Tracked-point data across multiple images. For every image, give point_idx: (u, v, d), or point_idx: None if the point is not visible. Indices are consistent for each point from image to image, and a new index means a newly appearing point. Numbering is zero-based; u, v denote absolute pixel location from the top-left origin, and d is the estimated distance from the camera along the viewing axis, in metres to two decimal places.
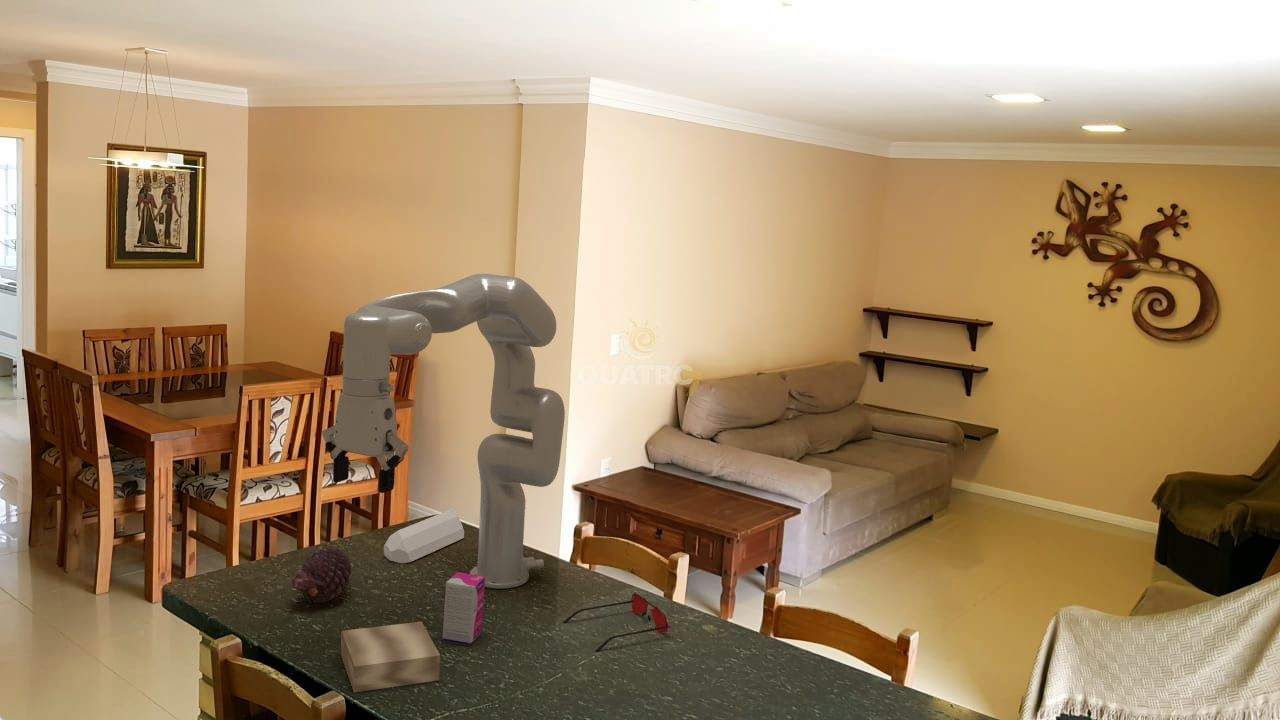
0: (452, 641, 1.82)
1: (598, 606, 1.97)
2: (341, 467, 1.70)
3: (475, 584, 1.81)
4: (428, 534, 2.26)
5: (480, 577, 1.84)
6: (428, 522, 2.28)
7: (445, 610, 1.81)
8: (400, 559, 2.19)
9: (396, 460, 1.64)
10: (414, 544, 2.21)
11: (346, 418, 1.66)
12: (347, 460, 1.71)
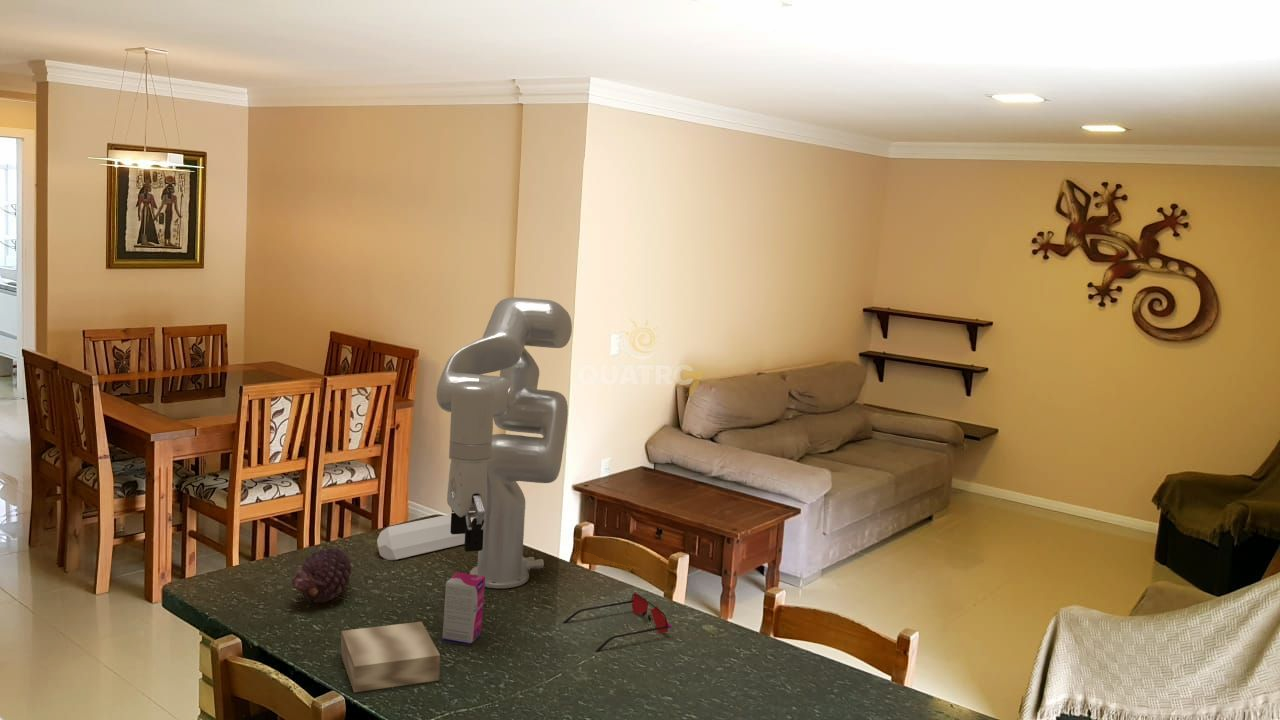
0: (452, 641, 1.82)
1: (598, 606, 1.97)
2: None
3: (475, 584, 1.81)
4: (423, 535, 2.25)
5: (480, 577, 1.84)
6: (427, 522, 2.28)
7: (445, 610, 1.81)
8: (387, 556, 2.20)
9: None
10: (403, 542, 2.21)
11: None
12: None
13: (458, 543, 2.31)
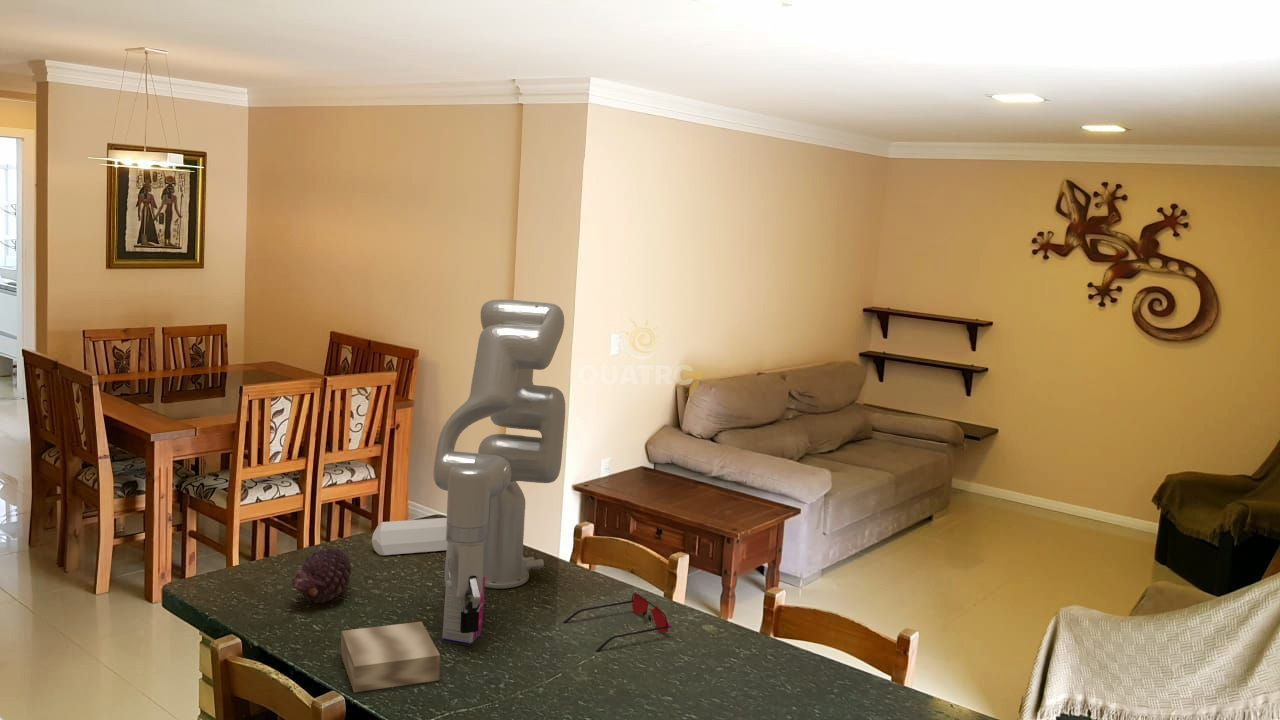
0: (452, 641, 1.82)
1: (598, 606, 1.97)
2: None
3: None
4: (418, 534, 2.25)
5: None
6: (425, 522, 2.27)
7: (445, 610, 1.81)
8: (378, 550, 2.23)
9: None
10: (394, 539, 2.23)
11: None
12: None
13: None
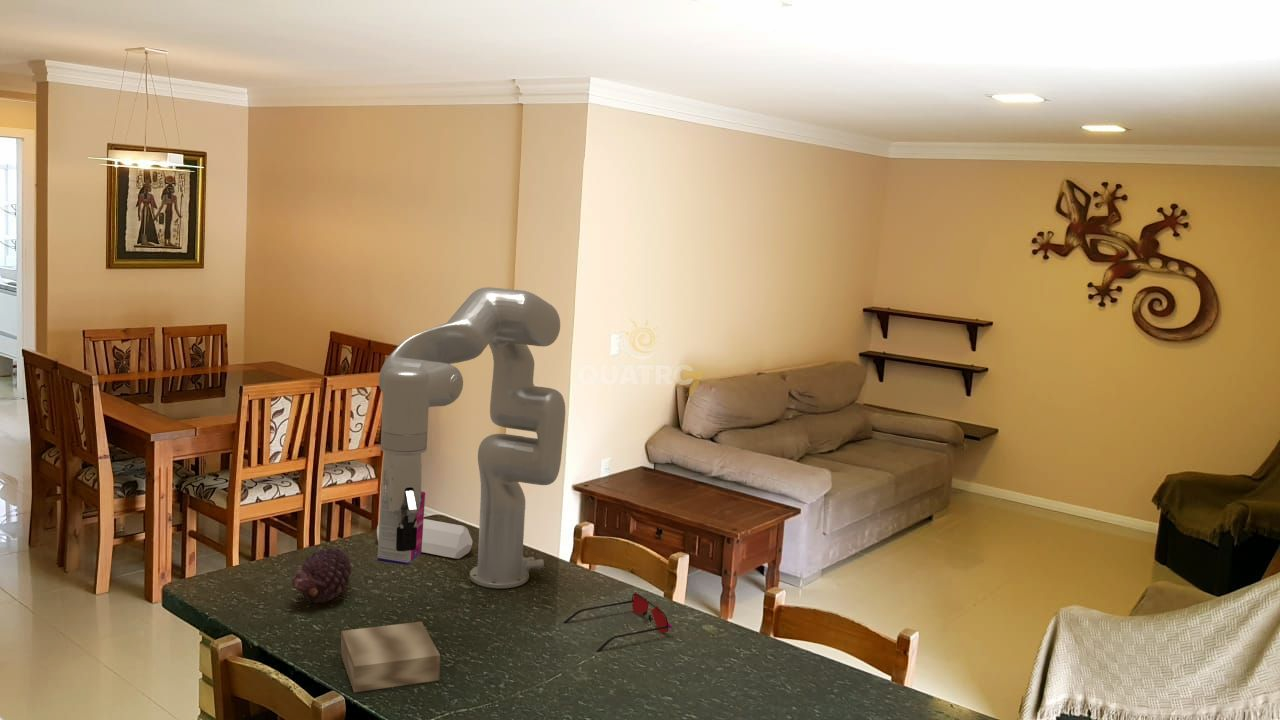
0: (388, 561, 1.67)
1: (599, 606, 1.97)
2: None
3: None
4: None
5: None
6: (423, 522, 2.28)
7: (380, 527, 1.66)
8: None
9: None
10: None
11: None
12: None
13: (442, 554, 2.24)
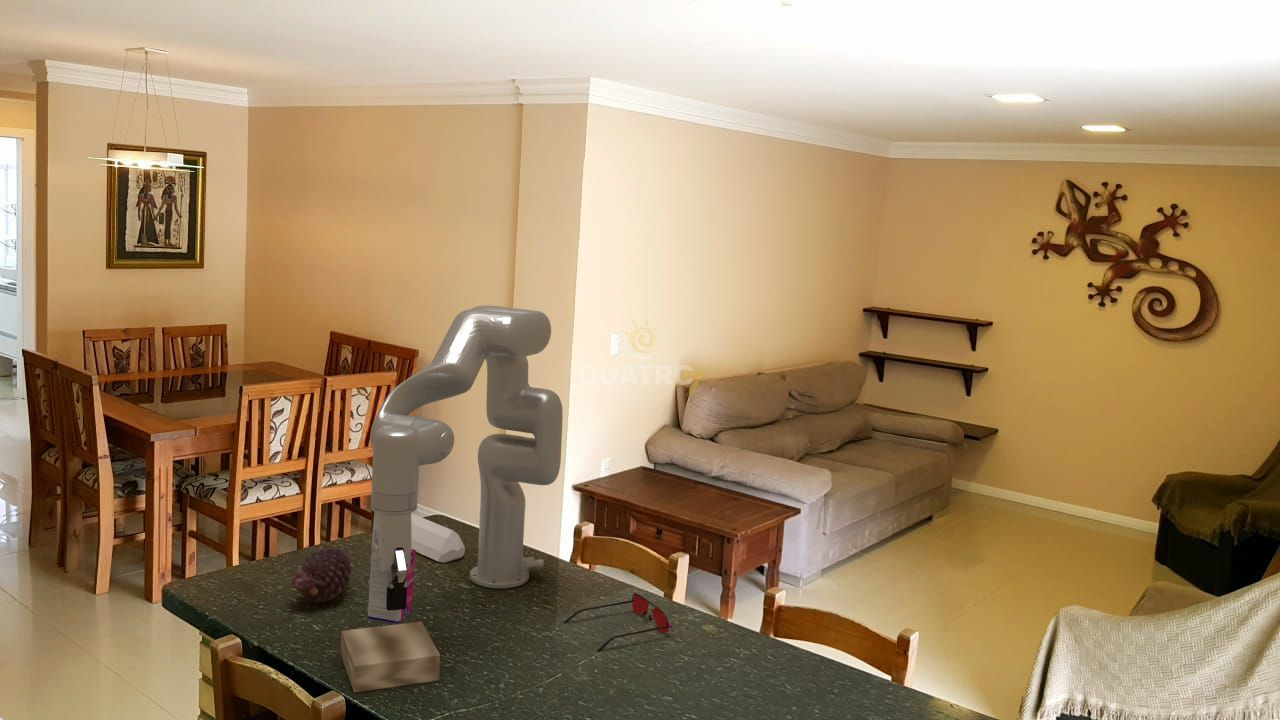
0: (378, 619, 1.67)
1: (599, 606, 1.97)
2: None
3: None
4: None
5: None
6: (422, 522, 2.28)
7: (370, 585, 1.66)
8: None
9: None
10: None
11: None
12: None
13: (429, 556, 2.22)
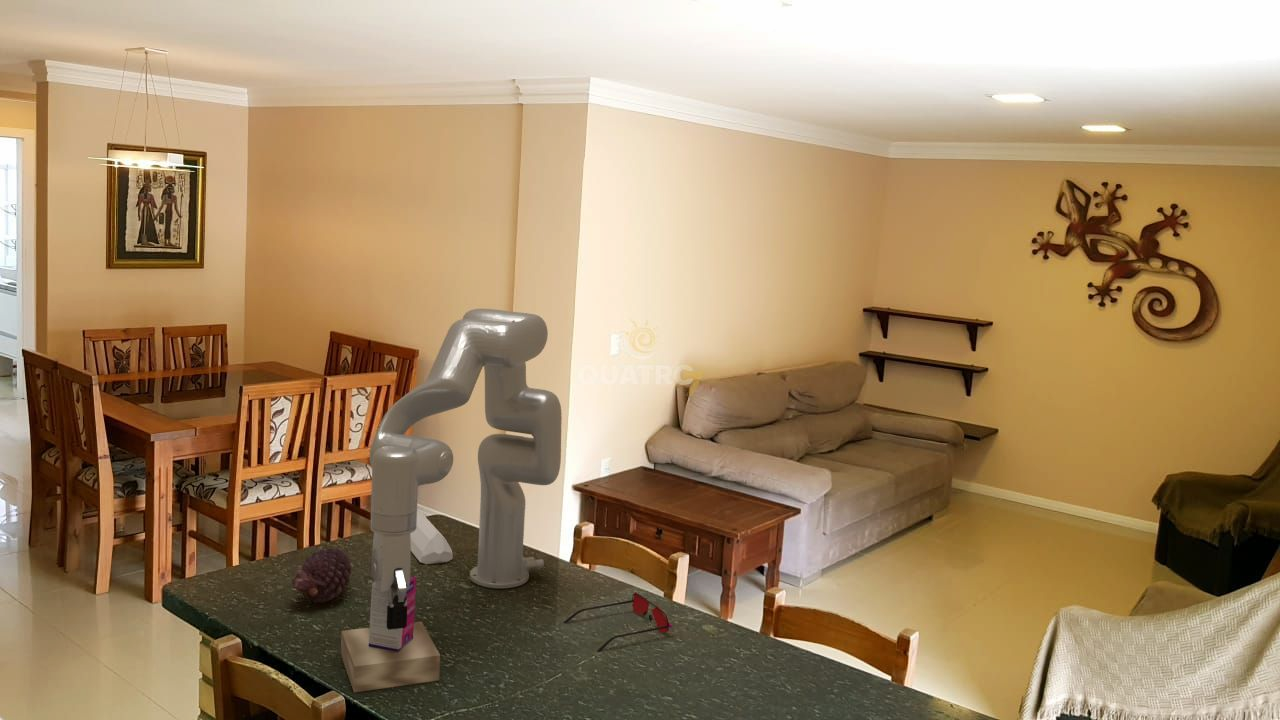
0: (379, 647, 1.68)
1: (599, 606, 1.98)
2: None
3: None
4: None
5: (411, 578, 1.70)
6: (422, 521, 2.28)
7: (371, 613, 1.67)
8: None
9: None
10: None
11: None
12: None
13: (416, 555, 2.22)
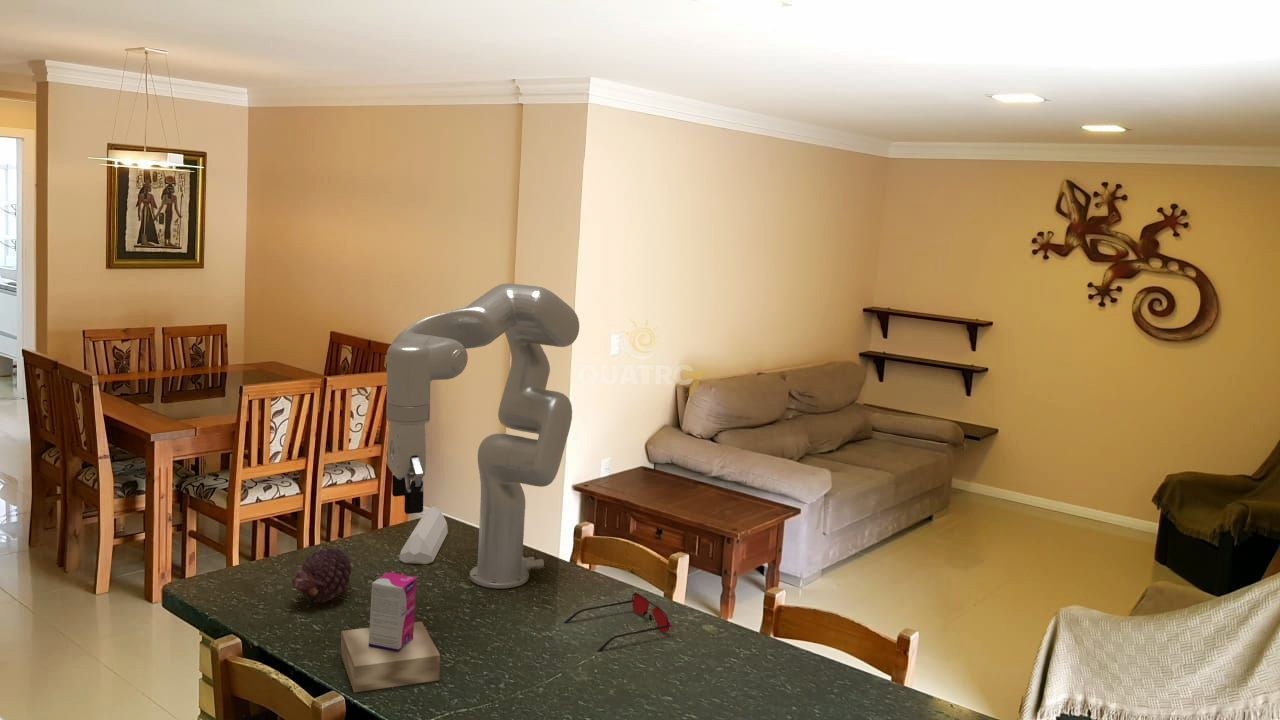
0: (379, 647, 1.68)
1: (599, 606, 1.98)
2: None
3: (403, 585, 1.67)
4: None
5: (411, 578, 1.70)
6: (422, 521, 2.28)
7: (371, 613, 1.67)
8: None
9: None
10: None
11: None
12: None
13: None
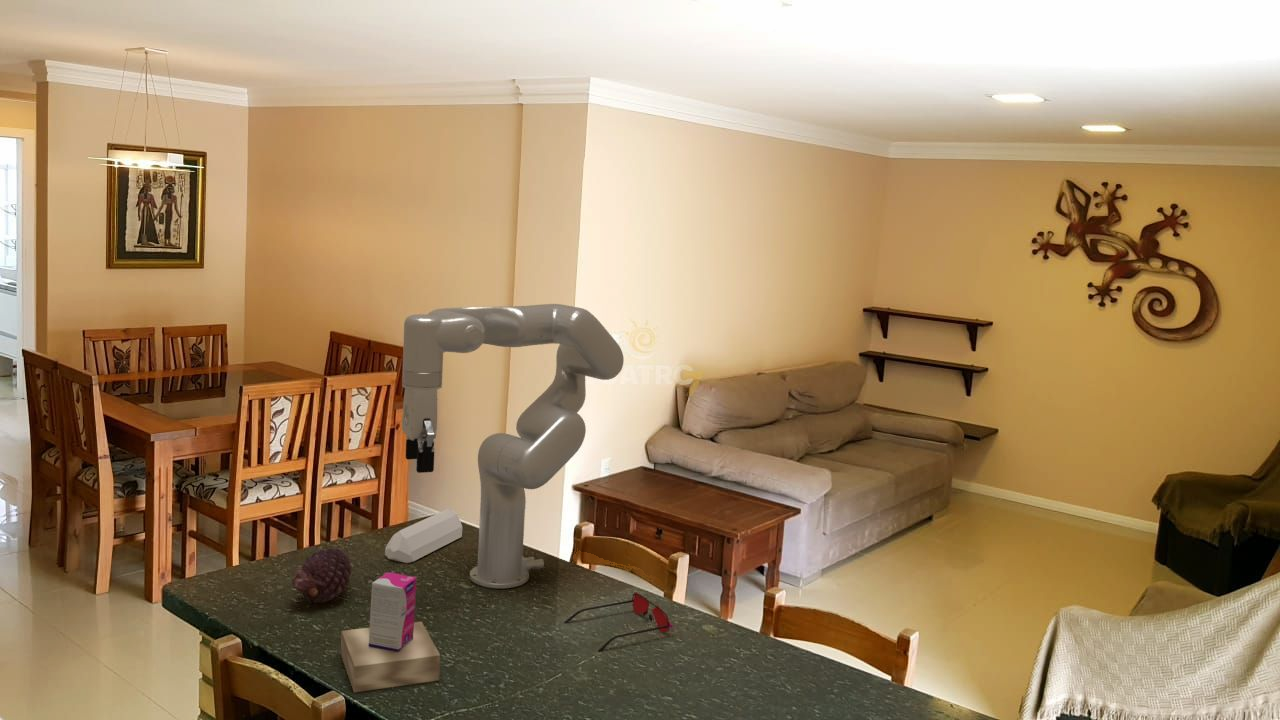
0: (379, 647, 1.68)
1: (599, 606, 1.98)
2: None
3: (403, 585, 1.67)
4: None
5: (411, 578, 1.70)
6: None
7: (371, 613, 1.67)
8: None
9: None
10: None
11: None
12: None
13: None
